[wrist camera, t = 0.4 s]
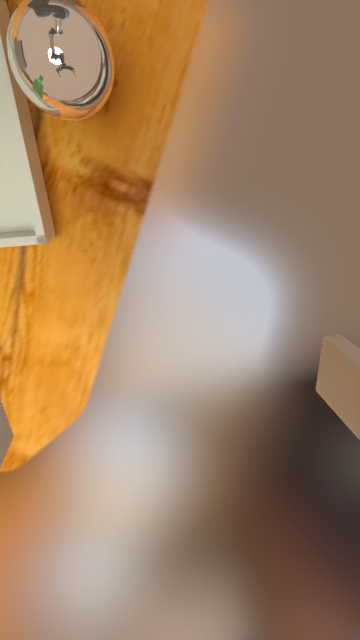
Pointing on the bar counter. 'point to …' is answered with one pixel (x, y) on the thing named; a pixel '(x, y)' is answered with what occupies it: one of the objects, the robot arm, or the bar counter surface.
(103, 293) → the bar counter surface
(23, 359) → the bar counter surface
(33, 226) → the tray
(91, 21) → the light bulb
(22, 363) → the bar counter surface
